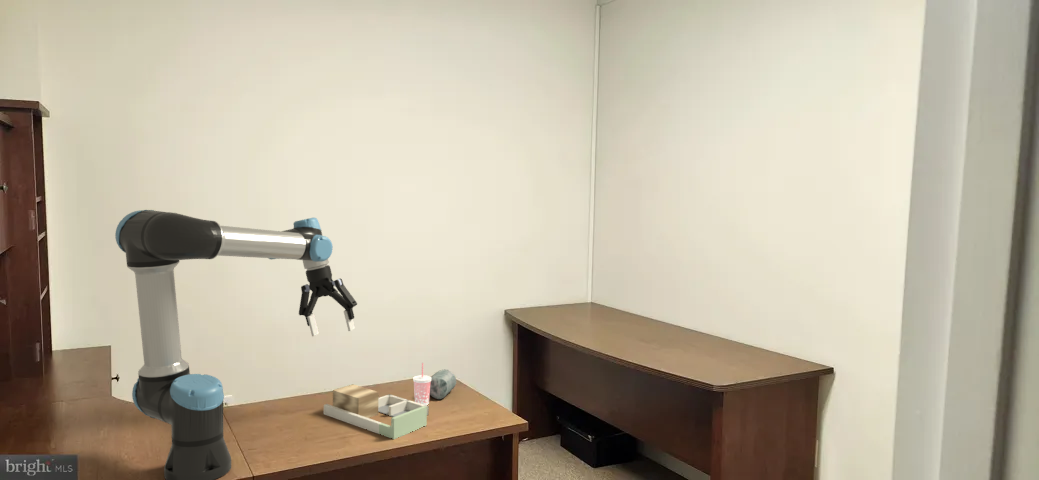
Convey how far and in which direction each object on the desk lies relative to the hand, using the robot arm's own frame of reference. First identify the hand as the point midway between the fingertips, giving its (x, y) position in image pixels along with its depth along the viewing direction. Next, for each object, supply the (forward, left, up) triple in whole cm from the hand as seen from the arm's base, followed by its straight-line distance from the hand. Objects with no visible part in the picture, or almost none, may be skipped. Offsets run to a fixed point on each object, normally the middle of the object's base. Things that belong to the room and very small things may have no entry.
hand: (333, 332), depth 211 cm
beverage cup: (+28, +6, -25) cm, 38 cm away
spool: (+34, +16, -25) cm, 45 cm away
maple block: (+8, -3, -25) cm, 27 cm away
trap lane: (+16, -6, -25) cm, 31 cm away
